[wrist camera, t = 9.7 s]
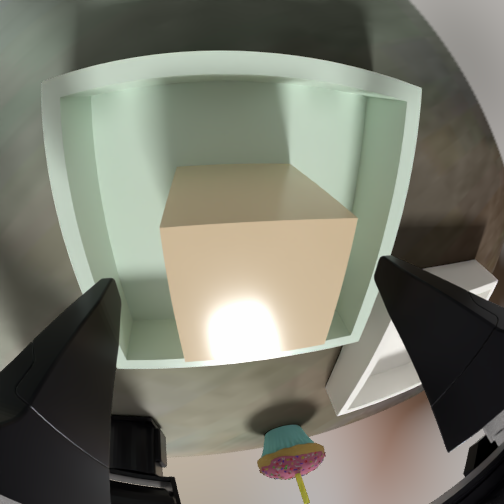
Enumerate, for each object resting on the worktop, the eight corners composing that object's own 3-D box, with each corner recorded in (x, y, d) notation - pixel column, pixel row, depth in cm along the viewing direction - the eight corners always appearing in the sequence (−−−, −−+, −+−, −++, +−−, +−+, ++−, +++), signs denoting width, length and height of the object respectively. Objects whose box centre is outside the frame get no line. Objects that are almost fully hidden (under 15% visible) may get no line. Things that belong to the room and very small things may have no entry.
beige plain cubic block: (185, 264, 14) (185, 362, 9) (176, 166, 11) (159, 227, 6) (281, 257, 15) (324, 344, 9) (289, 163, 12) (357, 218, 7)
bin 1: (125, 323, 16) (117, 368, 13) (80, 83, 8) (41, 81, 5) (336, 303, 18) (358, 341, 15) (374, 85, 11) (421, 88, 8)
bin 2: (325, 387, 25) (337, 416, 22) (367, 277, 17) (394, 312, 14) (423, 355, 27) (437, 375, 24) (474, 259, 20) (498, 280, 17)
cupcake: (248, 427, 27) (270, 517, 17) (318, 411, 28) (350, 495, 18) (253, 446, 32) (271, 517, 22) (311, 433, 33) (334, 501, 23)
